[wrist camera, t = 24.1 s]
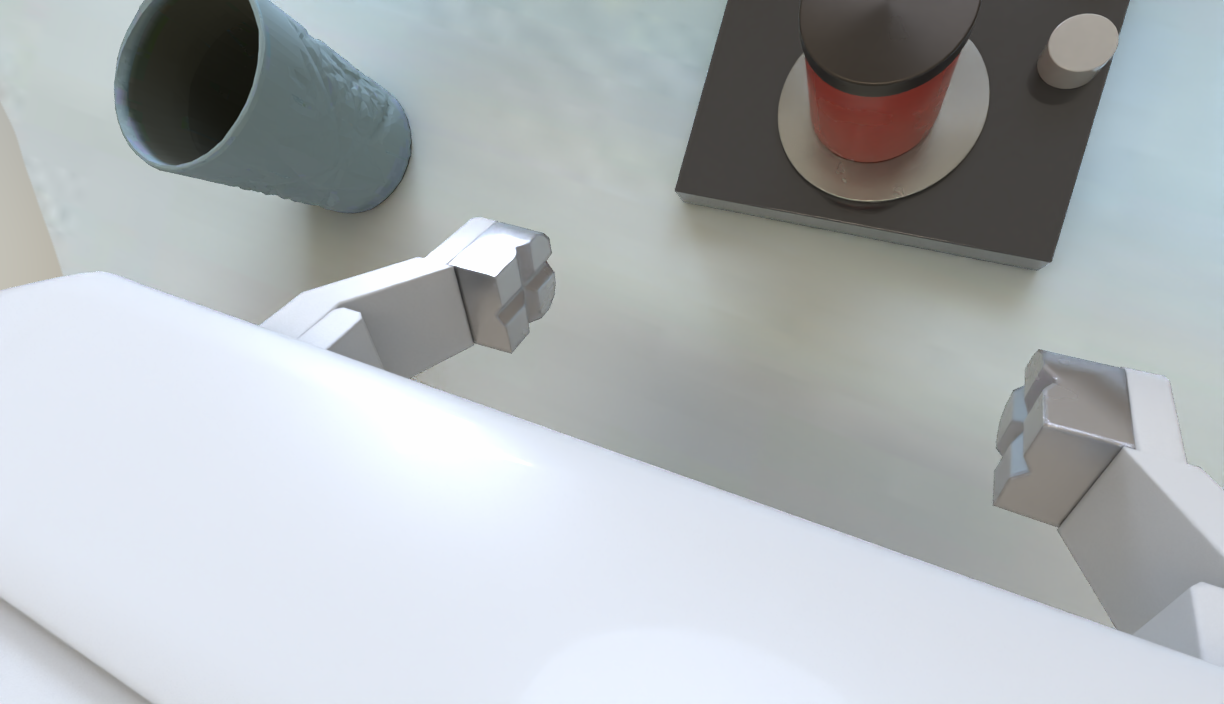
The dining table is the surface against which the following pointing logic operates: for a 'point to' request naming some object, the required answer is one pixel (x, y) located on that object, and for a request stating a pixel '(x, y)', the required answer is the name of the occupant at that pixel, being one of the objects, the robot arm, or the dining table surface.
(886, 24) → the red tin
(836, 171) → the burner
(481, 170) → the dining table surface
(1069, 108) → the hob
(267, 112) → the blue-grey embossed cup
